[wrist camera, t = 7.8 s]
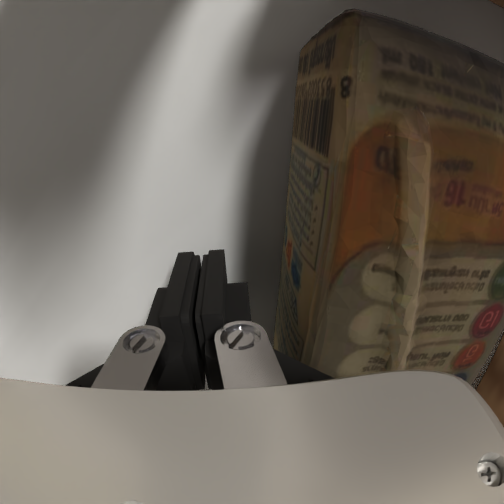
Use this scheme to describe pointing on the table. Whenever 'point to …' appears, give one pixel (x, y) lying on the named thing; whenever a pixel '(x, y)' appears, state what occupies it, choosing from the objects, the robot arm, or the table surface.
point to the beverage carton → (393, 203)
